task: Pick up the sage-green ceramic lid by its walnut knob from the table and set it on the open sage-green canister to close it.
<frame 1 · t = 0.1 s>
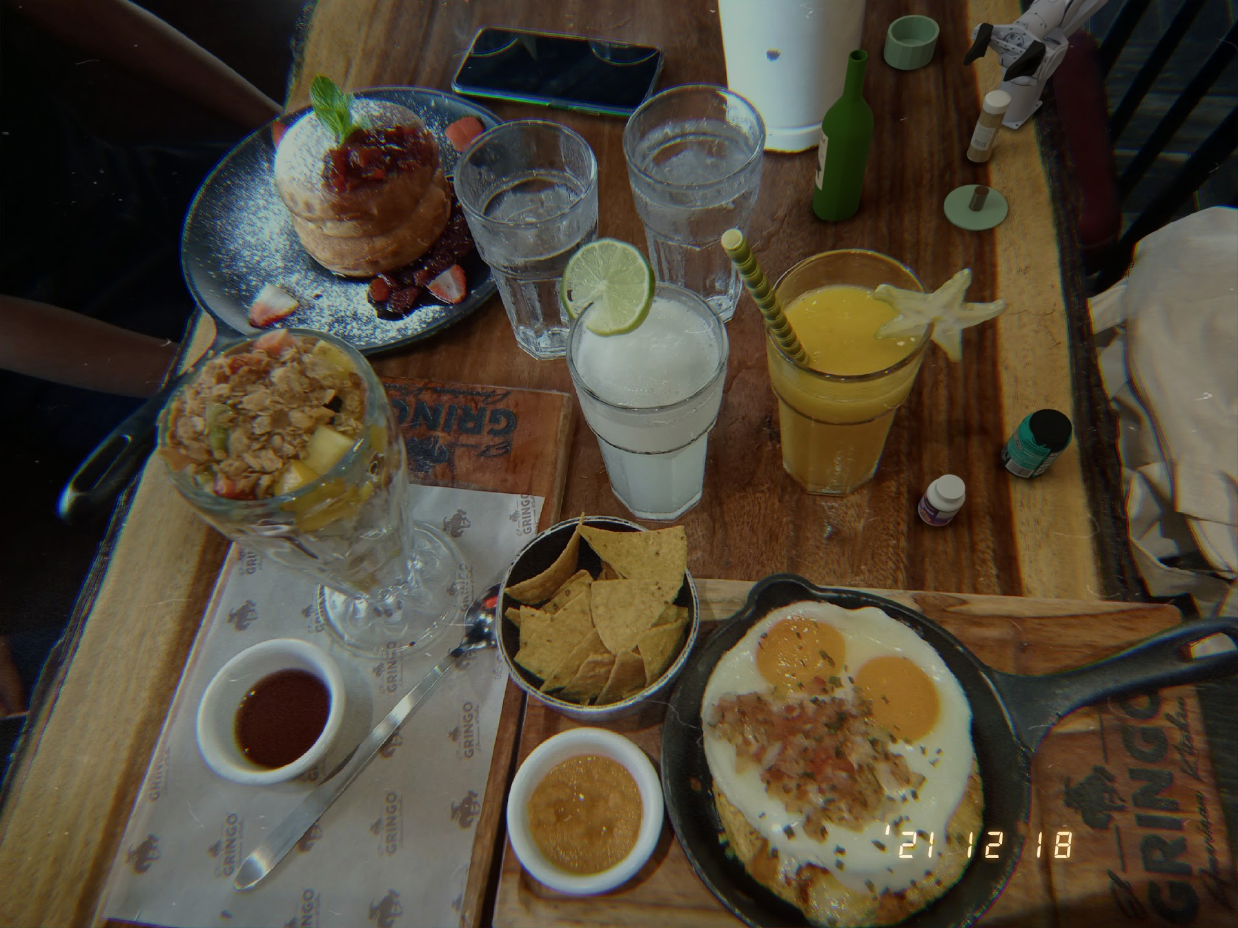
hand: (986, 68, 127), 22 cm above the table, tool horizontal, fingers open, 7 cm apart
pill bottle: (935, 511, 116), on the table
beverage can: (1022, 461, 118), on the table
canister lid: (975, 208, 140), point 1 cm above the table
sprinkles bottle: (977, 157, 147), on the table
canister: (908, 54, 162), on the table
wine bottle: (835, 207, 146), on the table
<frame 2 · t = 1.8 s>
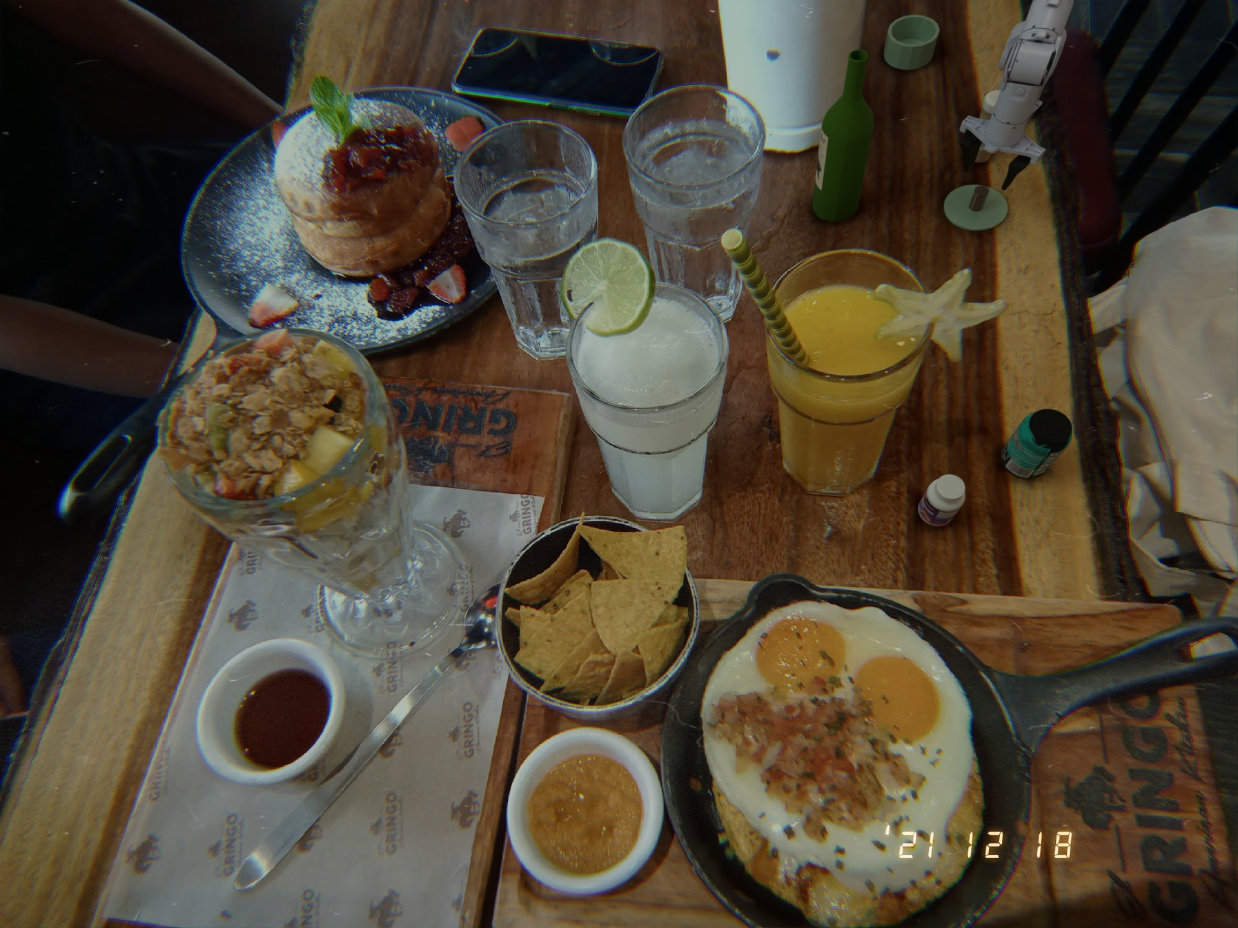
hand: (986, 177, 133), 8 cm above the table, tool pointing down, fingers open, 7 cm apart
nothing on the table moved.
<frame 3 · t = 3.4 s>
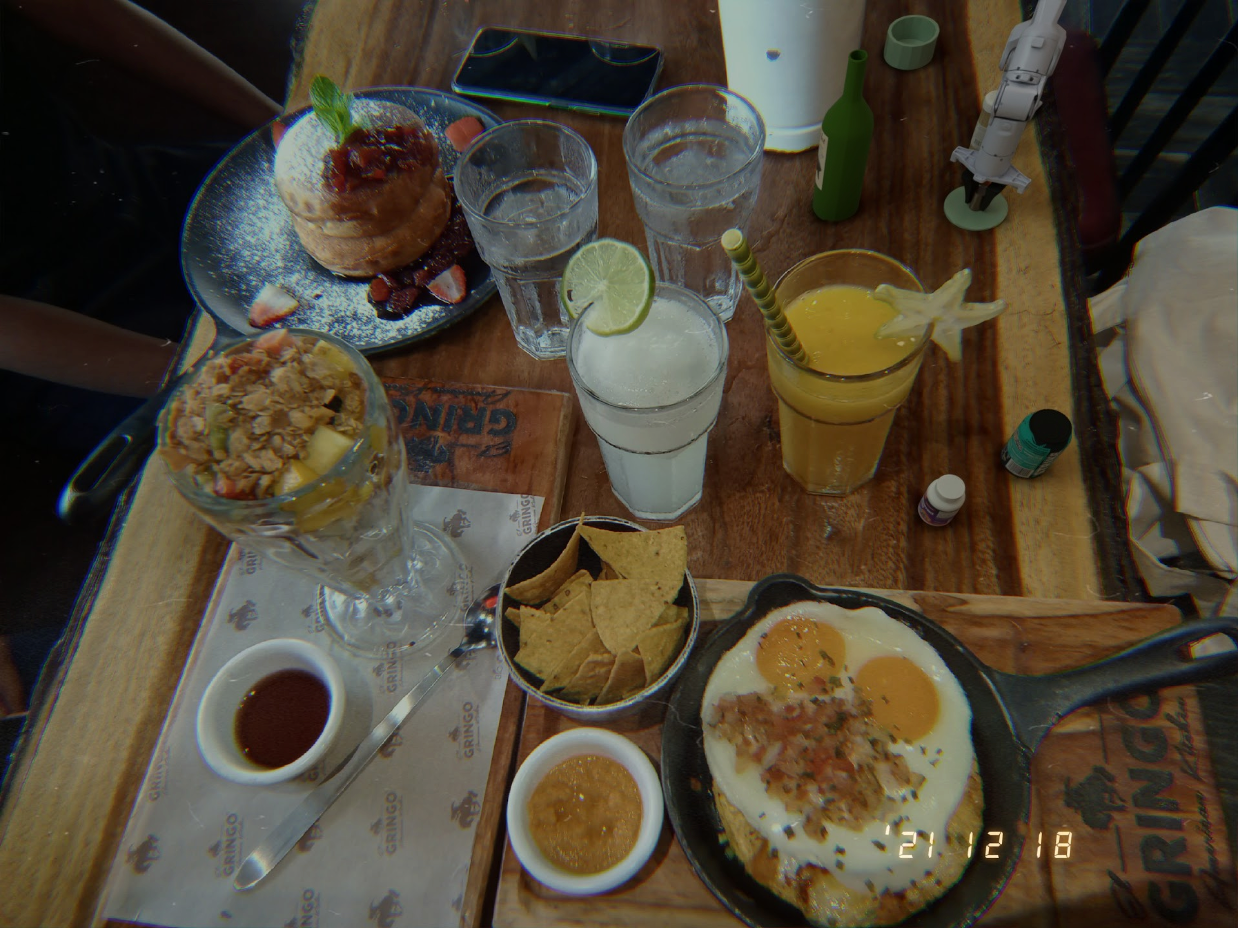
hand: (976, 204, 139), 2 cm above the table, tool pointing down, fingers closed on canister lid, 2 cm apart
canister lid: (975, 208, 140), point 1 cm above the table, touching gripper
everything else where it was.
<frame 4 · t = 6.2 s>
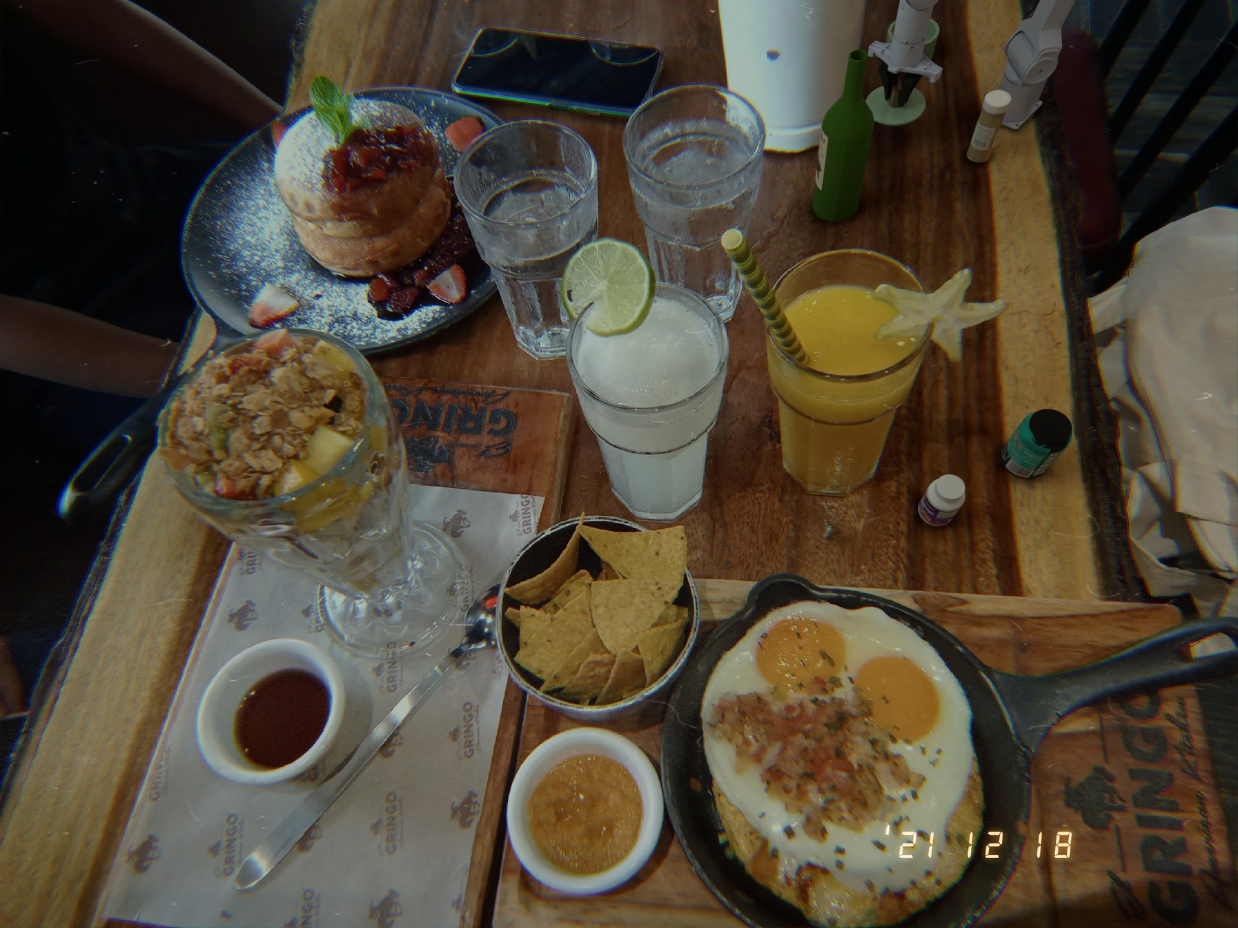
hand: (896, 100, 144), 9 cm above the table, tool pointing down, fingers closed on canister lid, 2 cm apart
canister lid: (894, 105, 145), point 8 cm above the table, touching gripper
everything else where it was.
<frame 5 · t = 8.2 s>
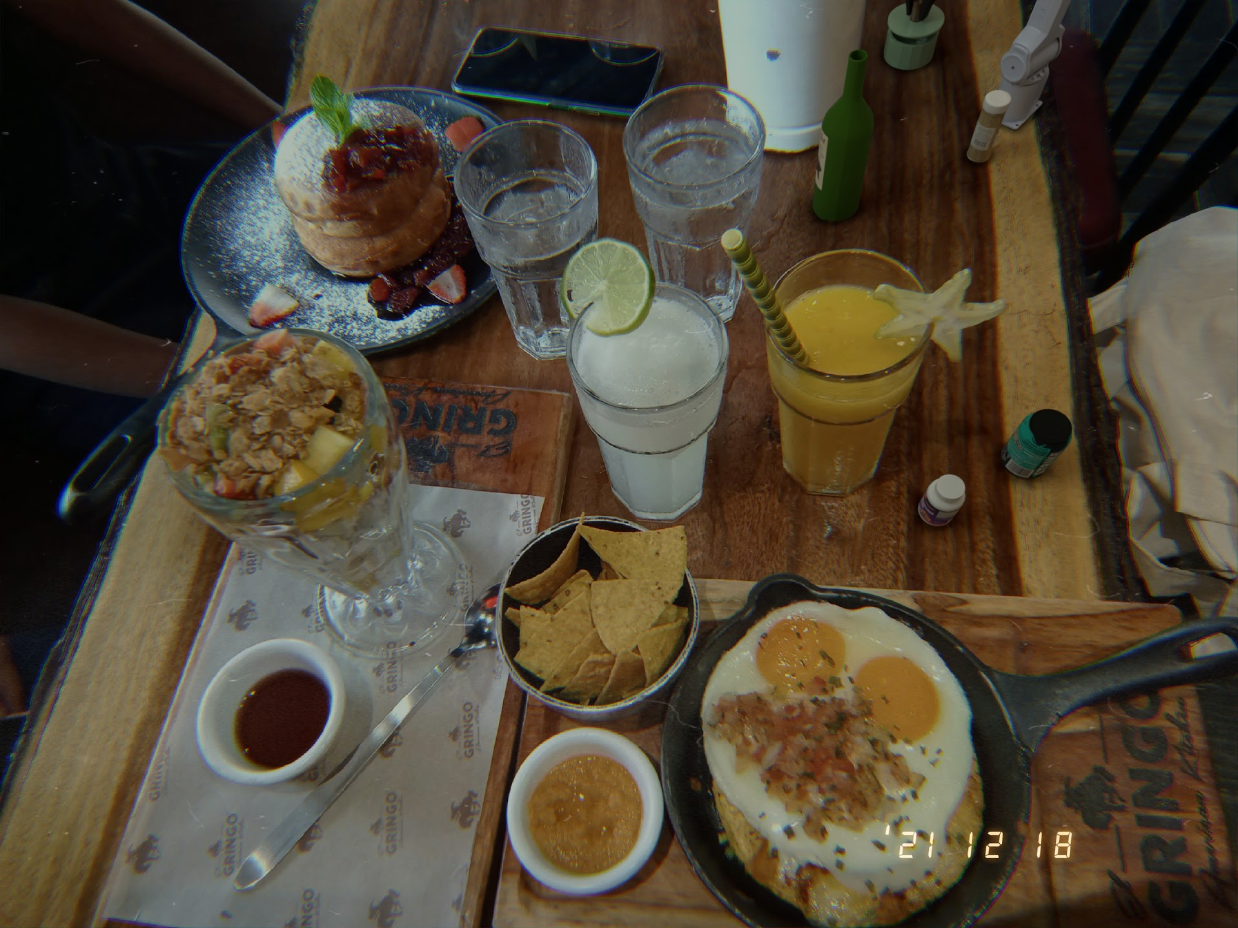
hand: (916, 15, 154), 9 cm above the table, tool pointing down, fingers closed on canister lid, 2 cm apart
canister lid: (915, 21, 155), point 8 cm above the table, touching gripper
everything else where it was.
when the fingers open (7 cm above the table, at t = 9.2 s): canister lid stays where it is, resting on canister.
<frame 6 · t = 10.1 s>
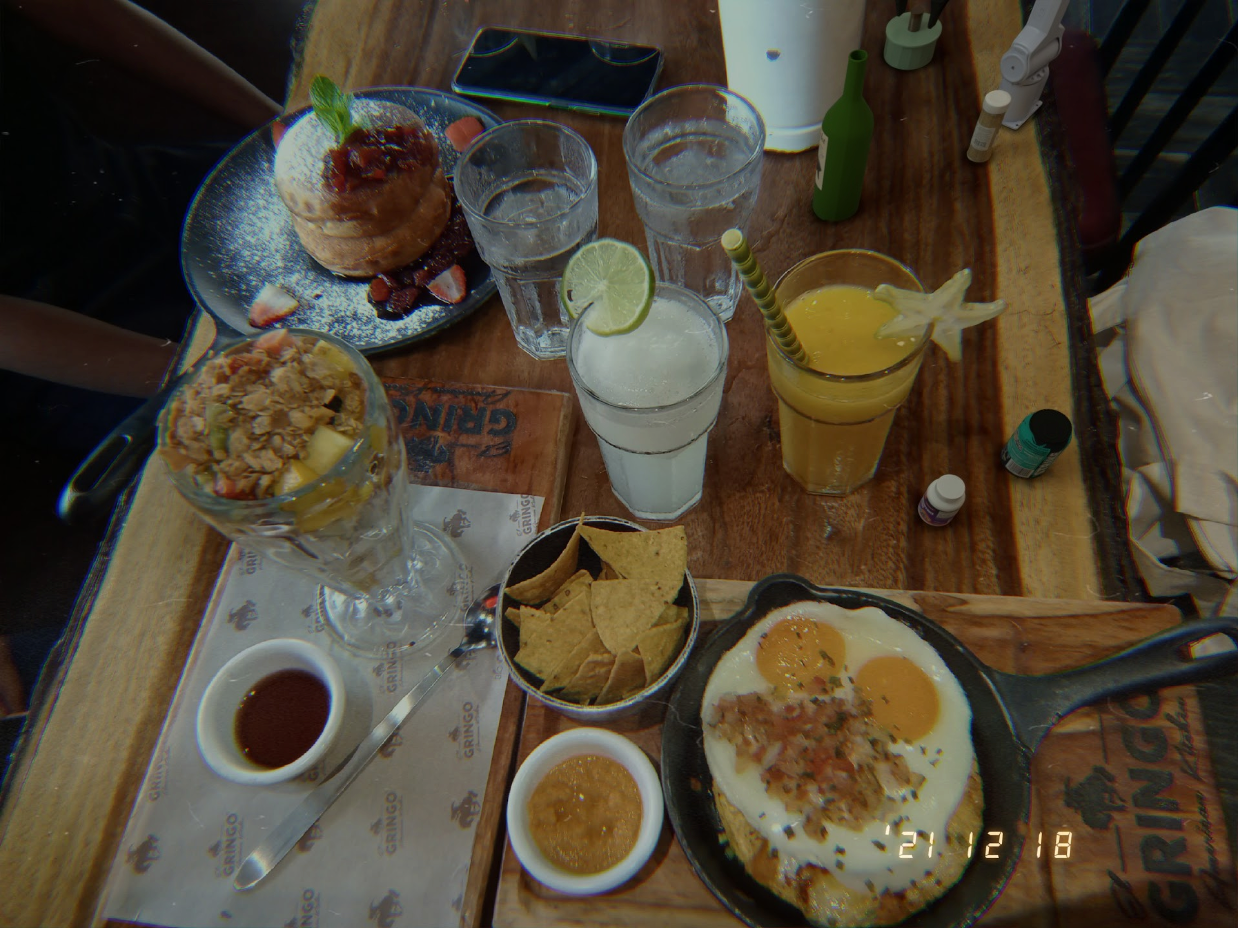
hand: (915, 20, 155), 8 cm above the table, tool pointing down, fingers open, 7 cm apart
canister lid: (913, 31, 157), point 5 cm above the table, touching canister
everything else where it was.
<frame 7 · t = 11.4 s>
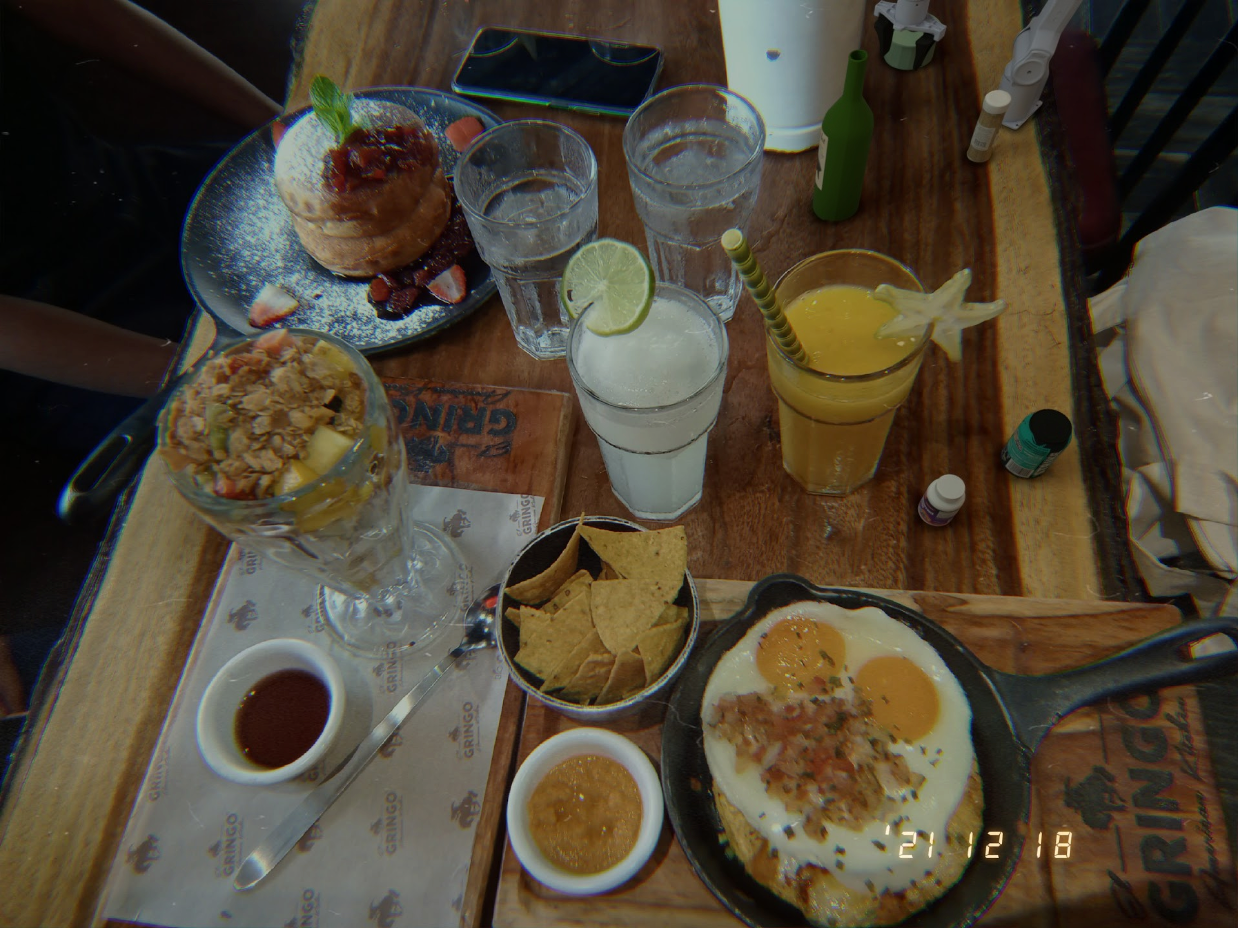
hand: (900, 60, 147), 10 cm above the table, tool pointing down, fingers open, 7 cm apart
nothing on the table moved.
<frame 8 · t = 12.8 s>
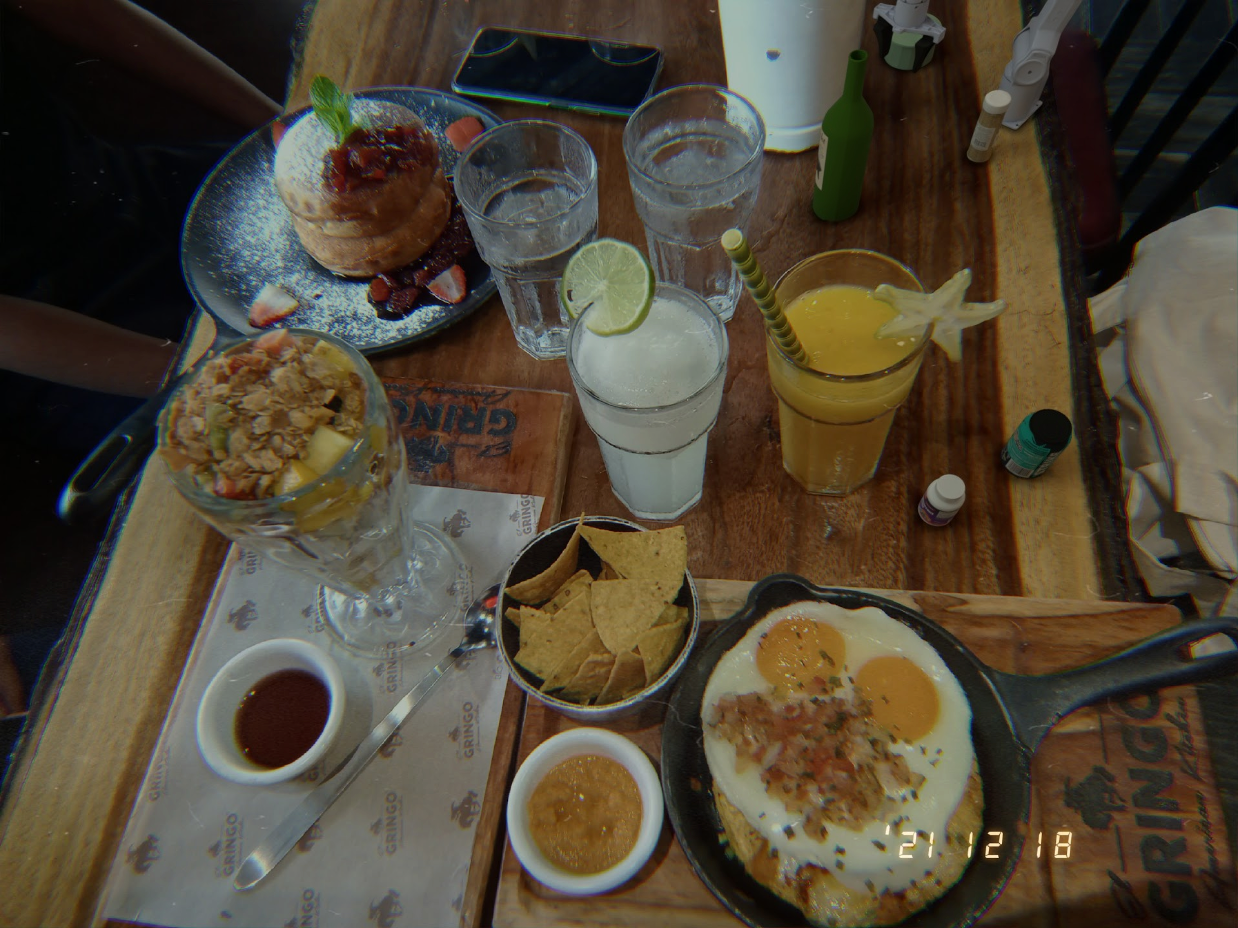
hand: (900, 63, 147), 10 cm above the table, tool pointing down, fingers open, 7 cm apart
nothing on the table moved.
at the end: canister lid 0.1 cm off-centre on the canister, point 5.5 cm above the canister's base; canister lid tilted 0° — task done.
